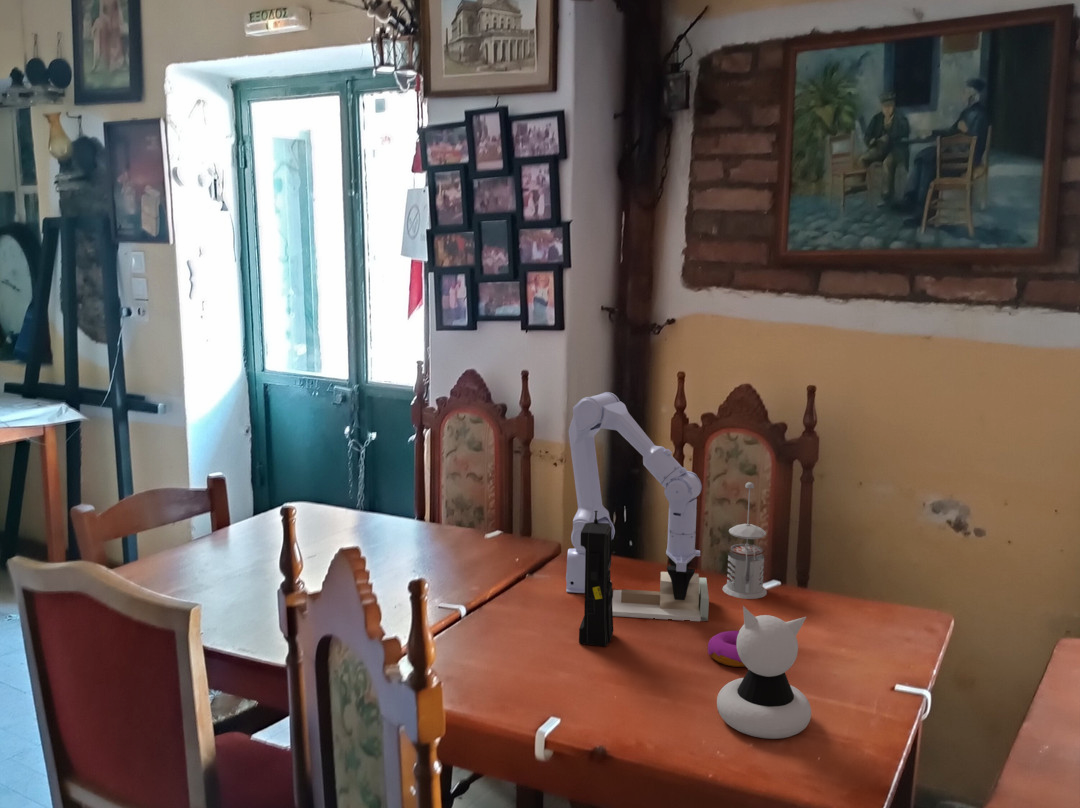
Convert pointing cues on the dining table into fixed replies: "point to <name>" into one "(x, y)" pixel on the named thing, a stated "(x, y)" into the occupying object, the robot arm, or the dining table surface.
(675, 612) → the board
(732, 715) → the decorative figurine
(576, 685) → the dining table surface
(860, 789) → the dining table surface
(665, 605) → the saddle block
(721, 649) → the donut
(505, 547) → the dining table surface
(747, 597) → the french press
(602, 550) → the portable radio
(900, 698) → the dining table surface
